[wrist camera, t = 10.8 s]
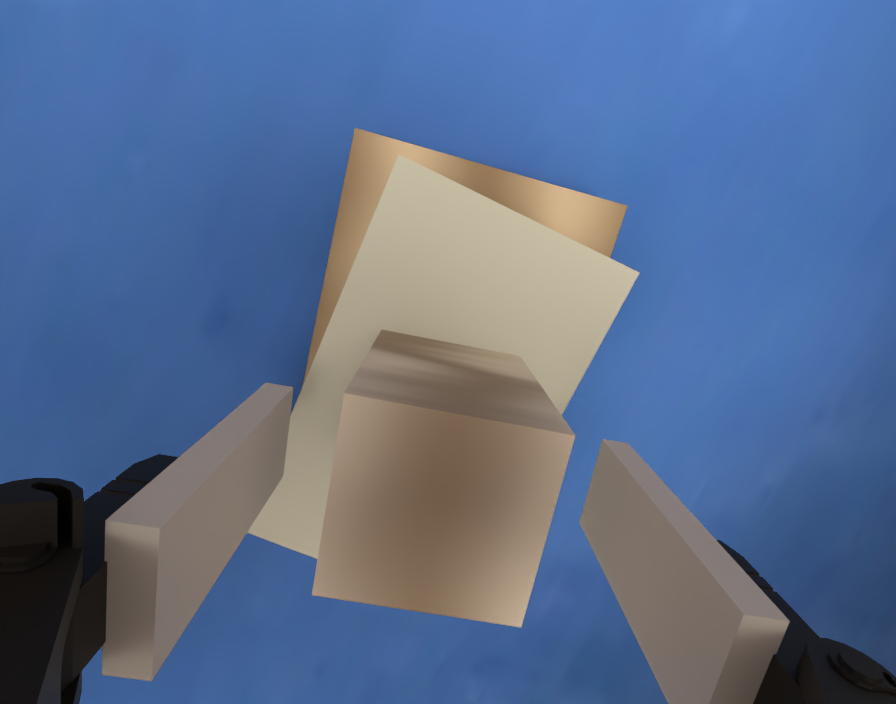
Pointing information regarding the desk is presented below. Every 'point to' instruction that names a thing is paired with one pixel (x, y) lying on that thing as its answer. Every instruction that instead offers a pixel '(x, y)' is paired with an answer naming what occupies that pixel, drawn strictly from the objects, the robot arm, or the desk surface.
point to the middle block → (443, 317)
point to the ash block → (441, 482)
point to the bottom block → (529, 197)
